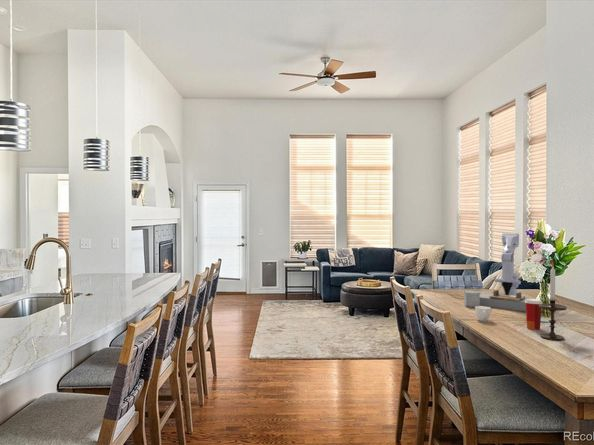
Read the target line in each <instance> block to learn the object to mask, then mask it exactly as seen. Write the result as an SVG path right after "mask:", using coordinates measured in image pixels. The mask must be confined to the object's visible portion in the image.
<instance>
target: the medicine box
mask: <svg viewBox="0 0 594 445" xmlns="http://www.w3.org/2000/svg"><path fill="white" fill-rule="evenodd" d="M463 295H464V301H463V302H464V306H465V307H466V308H475V307H476V306H480V295H481V293H480V292H478V291H464V294H463Z"/></svg>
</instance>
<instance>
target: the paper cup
mask: <svg viewBox="0 0 594 445" xmlns="http://www.w3.org/2000/svg"><path fill="white" fill-rule="evenodd" d="M525 303H526V311H525V318H526V320H525V321H526V329H527V330H531V331H540V330H541V322H542V321H541V320H542V310H543V309H542V308H539V304H544V303H543V302H542V299H539V298H538V299H537V298H528V299H526V300H525Z"/></svg>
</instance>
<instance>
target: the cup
mask: <svg viewBox="0 0 594 445" xmlns="http://www.w3.org/2000/svg"><path fill="white" fill-rule="evenodd" d="M474 311H475V316H476V318H477V320H478V321H480V322H488V320H490V317H491V315H492V307H487V306H476V307H474Z"/></svg>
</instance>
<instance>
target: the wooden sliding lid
mask: <svg viewBox="0 0 594 445" xmlns="http://www.w3.org/2000/svg"><path fill="white" fill-rule="evenodd" d="M492 293H493V294H492V296H489V298H495V299H503V298H505V297H508V296H510V295H506V294H503V293H499V289H496V290H493V292H492Z"/></svg>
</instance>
